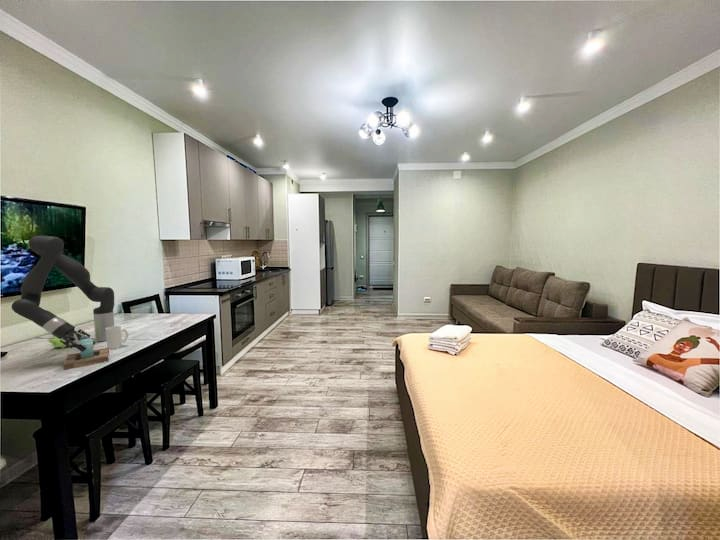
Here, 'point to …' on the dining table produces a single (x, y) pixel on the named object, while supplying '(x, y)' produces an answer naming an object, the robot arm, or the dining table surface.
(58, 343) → the teapot
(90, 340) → the teal cylinder
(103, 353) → the wooden trivet
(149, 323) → the dining table surface
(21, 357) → the dining table surface
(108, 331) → the mug
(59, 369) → the dining table surface
